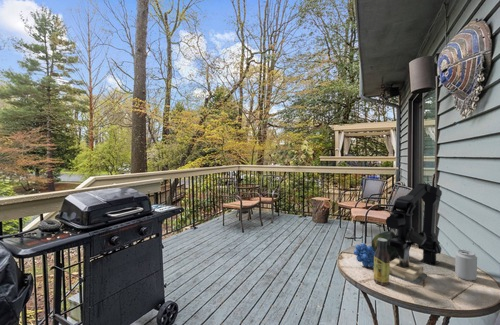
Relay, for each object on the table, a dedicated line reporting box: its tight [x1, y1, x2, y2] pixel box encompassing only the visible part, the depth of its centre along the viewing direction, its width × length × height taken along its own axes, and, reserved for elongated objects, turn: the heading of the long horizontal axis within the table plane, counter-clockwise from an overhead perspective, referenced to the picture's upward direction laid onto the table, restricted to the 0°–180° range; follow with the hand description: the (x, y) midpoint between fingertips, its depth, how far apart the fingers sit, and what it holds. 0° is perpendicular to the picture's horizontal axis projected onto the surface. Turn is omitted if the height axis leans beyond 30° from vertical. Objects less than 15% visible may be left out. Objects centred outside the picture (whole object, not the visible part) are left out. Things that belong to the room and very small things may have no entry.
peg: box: [398, 245, 410, 268], centre depth 118 cm, size 4×4×10 cm
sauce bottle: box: [372, 238, 391, 286], centre depth 111 cm, size 6×6×20 cm
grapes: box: [353, 242, 375, 268], centre depth 126 cm, size 12×7×12 cm, turn 59°
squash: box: [370, 230, 399, 259], centre depth 140 cm, size 14×15×15 cm
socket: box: [389, 257, 428, 286], centre depth 119 cm, size 12×15×4 cm
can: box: [454, 249, 478, 282], centre depth 114 cm, size 8×8×12 cm
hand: (404, 257), depth 118 cm, fingers closed on peg, 4 cm apart
